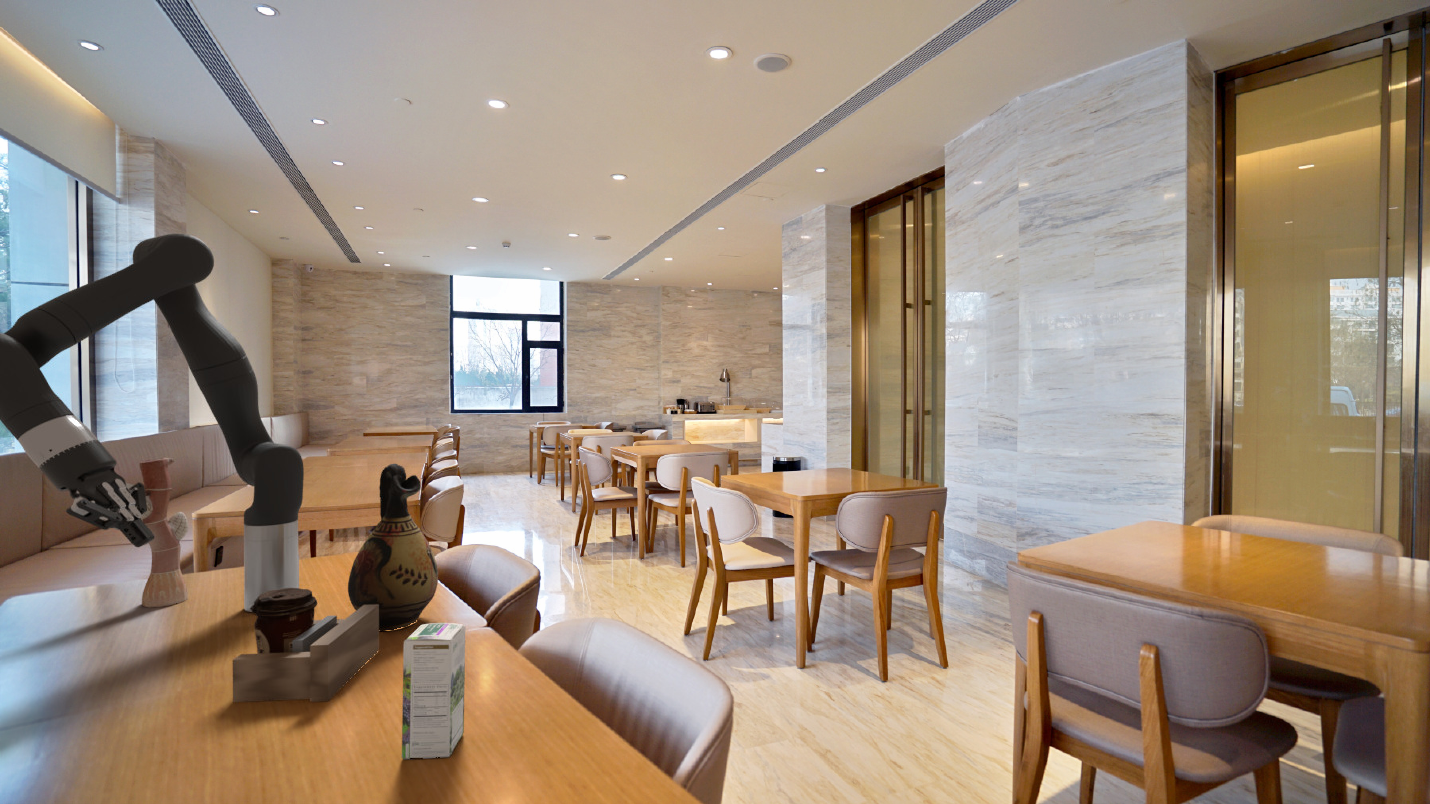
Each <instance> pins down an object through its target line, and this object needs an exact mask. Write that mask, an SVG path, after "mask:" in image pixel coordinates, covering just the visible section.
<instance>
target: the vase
mask: <svg viewBox="0 0 1430 804" xmlns="http://www.w3.org/2000/svg"><path fill="white" fill-rule="evenodd" d="M174 462H175V460H174V459H173V458H172V457H162V458H159V459H147V460H142V461H140V462H139V469H140V472H141V477H142V482H143V485H144V488H145V496H146V504H147V511H146V512H145V513H143V514H142V517H141V520H142V521H143V522H144V523H145V525H146V526H147V527H148V528H149V530H151V532H152V533H153V535H154V536H155V538H154V539H153V540H152V541H150V542H149V543H148V545H149V547H150V549H151V569H150V573H149V576H148V578H147V581H146V583H145V586H144V589H143V591H142V596H141V606H142V607H144V608H145V607H146V608H162V607H169V606H173V605H177V604H180V603H183V602H185V601H186V600H188V598H189V591H188V588H187V584H186V583H187V582H186V581H185V579H184V578H185V577H184V576H183V574H182V573H183V572H182V570H181V563H180V562H181V548H182V547H181V546H182V545H181V542H180V541H181V540H183V538H185V536H186V534H187V533H188V530H189V520H188V518H187V515H185V513H184V512H183V511H178V512H175V513H174V514H173V515H172V516H171V517H170V518H169V519H168V517H167V516H168V515H167V514H168V509H169V503H170V499H171V495H172V490H173V487H172V481H171V477H170V474H169V472H170V471H169V469H168V468H169V466H170V465H172V464H173V463H174ZM136 508H137V507H136ZM176 603H177V604H176Z"/></svg>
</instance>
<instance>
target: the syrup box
mask: <svg viewBox="0 0 1430 804" xmlns="http://www.w3.org/2000/svg"><path fill="white" fill-rule="evenodd" d="M402 657H403V663H402V665H403V666H402V668H403V670H402V710H401V711H402V715H401V716H402V718H401V719H402V720H401V721H402V726H401V728H402V729H401V734H402V735H401V758H402V760H411V759H410V758H423V759H437V758H438V757H440V758H450V757H451V755H452V754H453V752H454V751H455V749H456V747H457V745H458V744H457V743H459V742H460V740H461V739H462V737H463V735H464V733H465V730H464V729H465V728H464V727H465V685H466V684H465V682H466V681H465V680H466V679H465V678H466V677H465V675H466V674H465V673H466V671H465V670H466V662H465V661H466V625H465V624H463V623H462V624H461V623H452V622H435V623H434V622H431V623H425V624H424V623H423V624H421V625H420V626H418V627H417V629H415V630H414V632H412V633H411V634H410V635H409V636H408V637H407V638H406V639H404V641H403V656H402ZM436 757H437V758H436Z"/></svg>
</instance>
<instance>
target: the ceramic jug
mask: <svg viewBox="0 0 1430 804" xmlns="http://www.w3.org/2000/svg"><path fill="white" fill-rule="evenodd" d="M380 473H381V474H380V476H379V477H380V478H379V487H378V488H379V498H380V499H379V502H380V503H379V505H380V506H379V507H380V508H379V509H380V510H379V511H380V512H379V514H380V521H379V522H378V523H377V525H375V528H374V529H373V530H372V532H370V533H369V535H368V537H367V539H366V540H365V541H364V543H362V544H363V545H362V546H361V547H360V549H359V550H358V553H357V554H356V556H355V558H354V560H353V562H352V563H353V564H352V566H351V569H350V572H349V576H348V583H347V593H348V598H349V601H350V603H351V606H352V607H353V609H354V610H355V611H356V610H358V609H359V608H360V607H362V606H363V605H376V604H379V630H394V629H397V628H401V627H405V628H407V627H406V626H408V625H410V624H411V623H414V622H416V620H417V619H418V620H419V617H420V616H421V614H422V612H423V611H424V610H425V609H426V607H427V606H428V605H429V604H430V603H431V601H432V600H433V598H434V597H435V593H436V591H437V587H438V582H439V571H438V564H437V561H436V558H435V554H434V552H433V549H432V547H431V545H430V543H429V541H428V540H427V538H426V537H425V535H424V533H423V531H422V530H421V528H420V527H419V526H418V525H417V523H416V522H415V521H414V519H413V518H412V515H411V514H410V513H409V511H408V509H409V508H408V498H409V497H412V496H415V494H417V493H419V492H420V490H421V481H420V479H419V477H418V476H417V475H416V474H412V475H410V476H409V477H407V473H406V470H405V468H404V466H403V465H399V464H398V463H390V464H389V465H387V466H386V467H384V468H383V469H382V471H381V472H380ZM408 627H409V626H408Z"/></svg>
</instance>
